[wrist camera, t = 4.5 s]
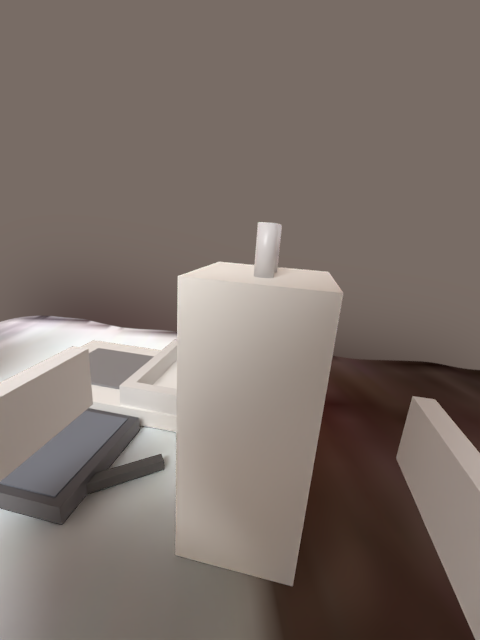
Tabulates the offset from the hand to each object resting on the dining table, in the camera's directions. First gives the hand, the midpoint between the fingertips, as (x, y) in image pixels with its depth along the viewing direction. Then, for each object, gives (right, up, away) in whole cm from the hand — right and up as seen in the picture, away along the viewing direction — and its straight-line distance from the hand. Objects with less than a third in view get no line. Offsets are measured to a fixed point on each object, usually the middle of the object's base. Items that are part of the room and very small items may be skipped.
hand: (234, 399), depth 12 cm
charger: (0, -6, +3) cm, 7 cm away
